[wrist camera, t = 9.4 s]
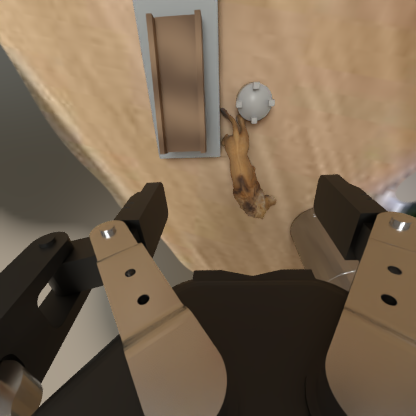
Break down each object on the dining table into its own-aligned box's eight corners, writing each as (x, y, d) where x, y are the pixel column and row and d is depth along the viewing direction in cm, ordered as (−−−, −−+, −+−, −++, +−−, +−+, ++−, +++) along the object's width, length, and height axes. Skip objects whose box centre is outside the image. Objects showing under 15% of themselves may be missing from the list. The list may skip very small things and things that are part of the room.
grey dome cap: (268, 118, 31) (272, 122, 29) (234, 119, 32) (235, 124, 29) (271, 79, 29) (276, 81, 26) (235, 81, 29) (236, 83, 26)
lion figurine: (270, 186, 37) (282, 217, 30) (240, 197, 39) (245, 229, 31) (238, 98, 30) (243, 110, 23) (203, 116, 32) (197, 132, 24)
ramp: (208, 143, 31) (205, 156, 27) (169, 145, 32) (160, 158, 27) (201, 13, 24) (197, 1, 19) (150, 17, 24) (134, 6, 20)
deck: (220, 151, 34) (220, 156, 32) (163, 153, 35) (159, 158, 33) (216, -46, 23) (216, -57, 21) (132, -39, 24) (124, -49, 22)
